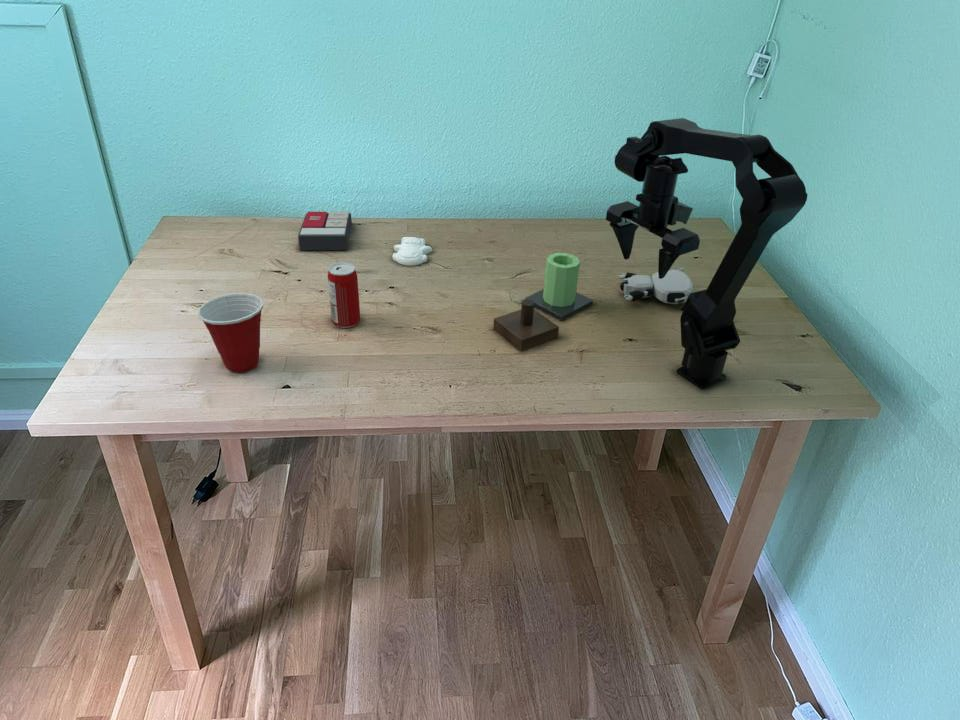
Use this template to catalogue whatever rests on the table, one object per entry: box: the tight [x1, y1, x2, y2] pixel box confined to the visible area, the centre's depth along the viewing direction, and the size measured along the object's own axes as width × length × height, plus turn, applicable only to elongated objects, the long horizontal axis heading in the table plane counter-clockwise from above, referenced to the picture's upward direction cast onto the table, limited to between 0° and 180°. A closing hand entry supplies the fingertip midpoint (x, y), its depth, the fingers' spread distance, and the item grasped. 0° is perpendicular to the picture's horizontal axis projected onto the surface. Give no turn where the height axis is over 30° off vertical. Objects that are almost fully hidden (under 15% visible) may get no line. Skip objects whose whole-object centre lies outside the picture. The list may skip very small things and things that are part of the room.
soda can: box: [327, 261, 361, 329], centre depth 136 cm, size 6×6×12 cm
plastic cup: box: [197, 292, 264, 374], centre depth 123 cm, size 11×11×12 cm
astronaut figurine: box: [391, 236, 433, 267], centre depth 163 cm, size 9×12×3 cm
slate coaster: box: [525, 288, 594, 322], centre depth 148 cm, size 10×10×1 cm
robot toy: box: [617, 267, 694, 305], centre depth 150 cm, size 12×4×15 cm
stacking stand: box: [492, 298, 560, 352], centre depth 136 cm, size 9×9×7 cm
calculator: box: [297, 211, 353, 251], centre depth 169 cm, size 11×4×15 cm
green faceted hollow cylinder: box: [543, 252, 581, 307], centre depth 145 cm, size 6×7×9 cm
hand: (643, 268), depth 136 cm, fingers open, 9 cm apart
